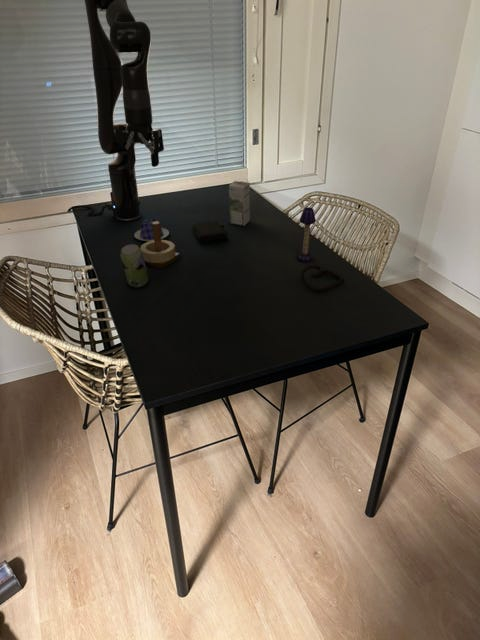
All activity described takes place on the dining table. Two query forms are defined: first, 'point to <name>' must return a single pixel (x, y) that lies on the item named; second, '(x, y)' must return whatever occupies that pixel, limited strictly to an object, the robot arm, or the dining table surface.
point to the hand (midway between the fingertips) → (143, 164)
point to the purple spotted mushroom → (306, 232)
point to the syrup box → (239, 202)
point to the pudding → (149, 231)
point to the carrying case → (209, 231)
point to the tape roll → (158, 256)
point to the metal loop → (319, 275)
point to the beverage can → (134, 265)
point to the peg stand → (160, 247)
